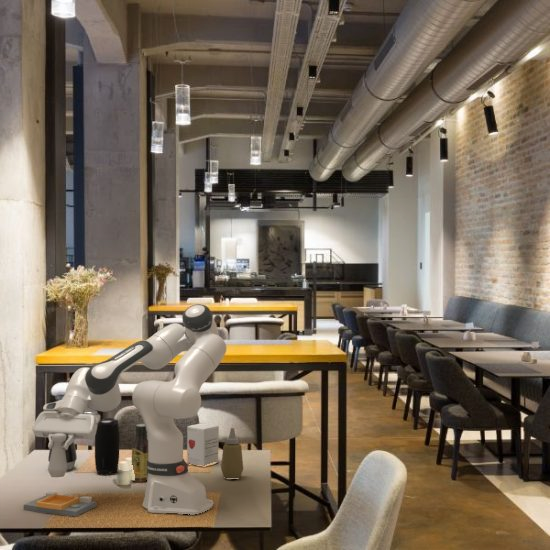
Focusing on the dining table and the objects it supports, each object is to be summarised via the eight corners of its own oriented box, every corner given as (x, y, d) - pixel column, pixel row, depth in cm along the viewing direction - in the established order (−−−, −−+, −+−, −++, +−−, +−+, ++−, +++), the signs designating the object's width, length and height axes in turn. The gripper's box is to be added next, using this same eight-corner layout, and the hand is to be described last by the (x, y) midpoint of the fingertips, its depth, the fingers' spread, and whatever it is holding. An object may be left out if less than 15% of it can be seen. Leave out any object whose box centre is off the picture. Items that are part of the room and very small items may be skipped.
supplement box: (186, 464, 294) (186, 425, 294) (201, 460, 301) (201, 422, 301) (203, 468, 289) (204, 428, 289) (219, 463, 296) (219, 425, 296)
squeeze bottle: (216, 478, 275) (216, 428, 275) (233, 474, 280) (234, 425, 280) (230, 482, 269) (230, 431, 269) (247, 478, 274) (248, 428, 274)
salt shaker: (60, 478, 232) (62, 435, 233) (43, 477, 234) (45, 434, 235) (70, 475, 238) (72, 433, 239) (54, 473, 239) (55, 432, 240)
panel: (96, 506, 239) (96, 497, 239) (75, 517, 229) (75, 507, 229) (46, 500, 246) (46, 490, 246) (23, 510, 235) (23, 500, 235)
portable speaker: (104, 468, 287) (105, 416, 287) (124, 471, 282) (124, 419, 283) (89, 473, 279) (89, 420, 279) (108, 477, 275) (109, 422, 275)
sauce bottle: (127, 480, 271) (128, 424, 271) (143, 477, 275) (143, 422, 275) (137, 484, 266) (137, 427, 266) (152, 481, 270) (153, 425, 270)
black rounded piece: (81, 467, 289) (82, 427, 289) (67, 473, 279) (68, 432, 279) (57, 465, 292) (58, 425, 292) (43, 471, 282) (43, 430, 282)
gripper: (104, 418, 246) (91, 455, 236) (46, 415, 250) (30, 452, 240) (99, 406, 242) (85, 444, 232) (39, 404, 245) (23, 440, 235)
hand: (57, 448), depth 236 cm, fingers closed on salt shaker, 3 cm apart
